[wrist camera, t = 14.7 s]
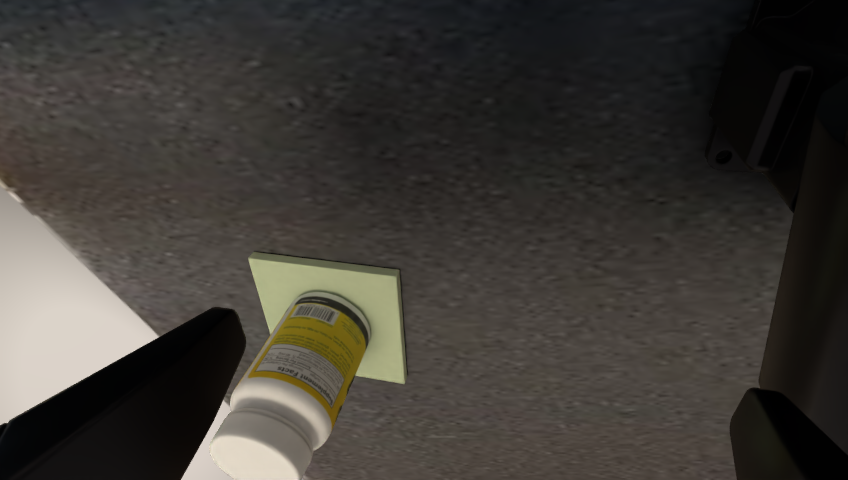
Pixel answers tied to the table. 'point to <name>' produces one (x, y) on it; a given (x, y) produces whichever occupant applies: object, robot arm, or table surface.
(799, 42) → the robot arm
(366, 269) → the mat
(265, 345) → the supplement bottle
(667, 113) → the table surface
